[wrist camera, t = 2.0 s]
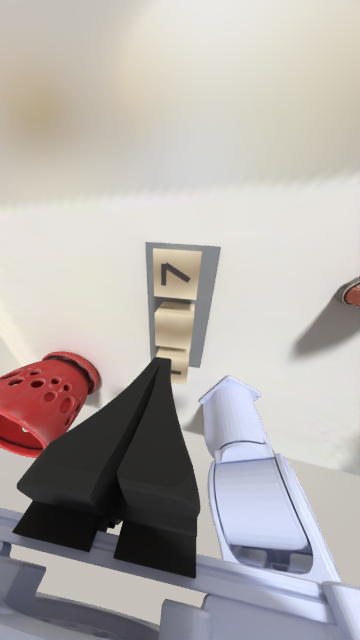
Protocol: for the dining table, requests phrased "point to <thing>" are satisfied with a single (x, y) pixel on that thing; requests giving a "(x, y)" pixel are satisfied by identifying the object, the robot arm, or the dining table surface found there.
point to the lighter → (350, 292)
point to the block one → (176, 362)
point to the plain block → (174, 325)
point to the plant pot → (43, 401)
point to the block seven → (176, 273)
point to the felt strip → (201, 303)
